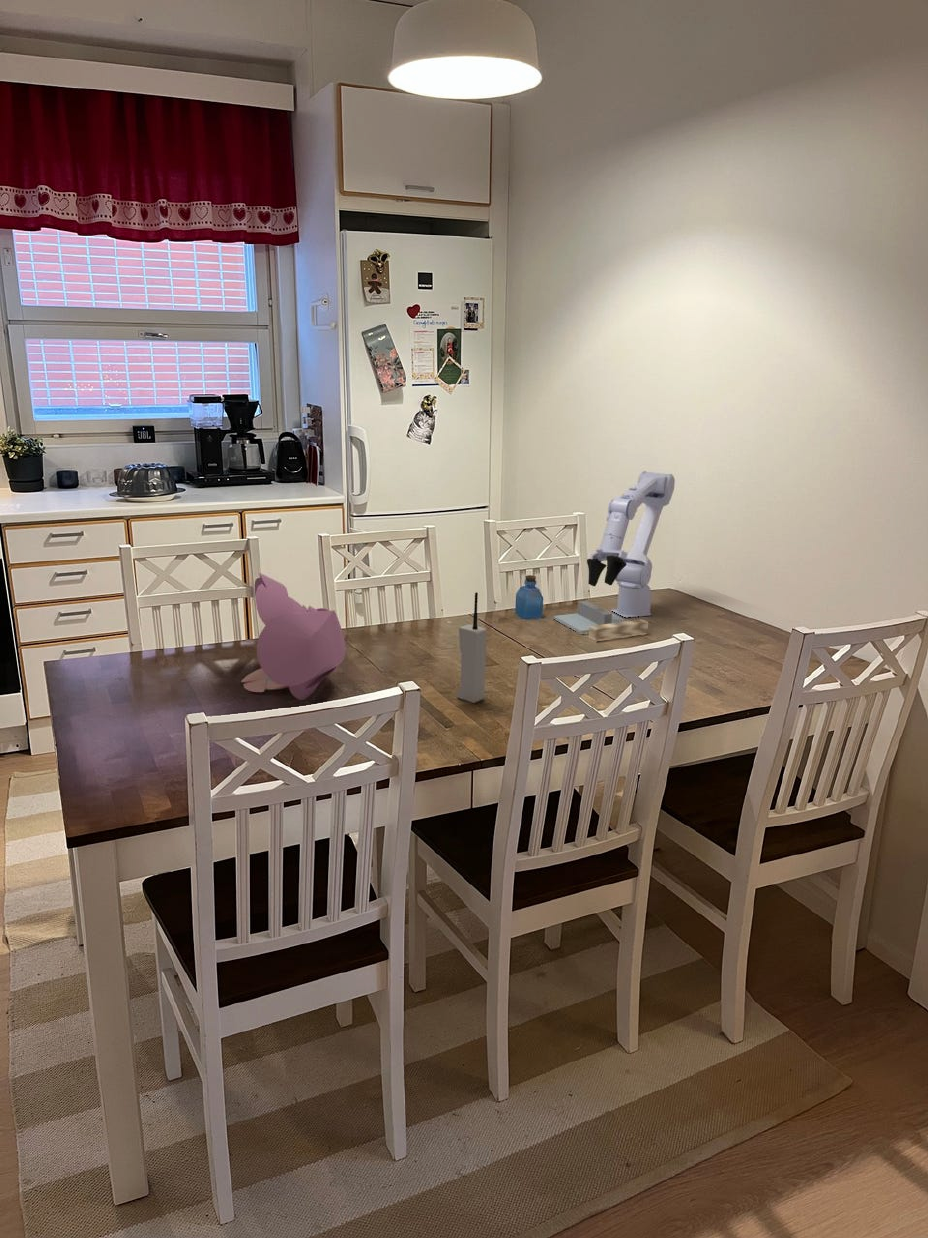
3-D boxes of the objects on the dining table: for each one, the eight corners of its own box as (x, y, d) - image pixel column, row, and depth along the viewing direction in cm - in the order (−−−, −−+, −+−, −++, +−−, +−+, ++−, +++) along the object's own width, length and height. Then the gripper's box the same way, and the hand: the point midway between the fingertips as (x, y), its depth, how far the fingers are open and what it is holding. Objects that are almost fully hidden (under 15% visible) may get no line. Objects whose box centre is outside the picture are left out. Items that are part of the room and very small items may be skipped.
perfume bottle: (515, 613, 273) (517, 574, 270) (534, 612, 275) (536, 573, 272) (522, 619, 268) (524, 579, 264) (542, 618, 269) (544, 578, 266)
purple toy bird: (227, 686, 223) (195, 576, 215) (316, 653, 234) (288, 547, 226) (277, 724, 194) (242, 598, 186) (376, 685, 205) (346, 564, 196)
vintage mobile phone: (467, 693, 210) (470, 588, 203) (484, 699, 207) (488, 592, 200) (456, 698, 208) (460, 591, 200) (473, 703, 205) (477, 595, 197)
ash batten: (640, 632, 260) (641, 619, 259) (647, 635, 258) (648, 622, 256) (588, 640, 252) (589, 626, 251) (594, 643, 249) (595, 629, 248)
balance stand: (605, 614, 276) (606, 598, 274) (634, 628, 263) (636, 611, 261) (553, 619, 268) (554, 603, 267) (580, 634, 255) (582, 617, 254)
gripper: (587, 535, 260) (573, 580, 258) (618, 531, 248) (604, 578, 245) (606, 545, 264) (593, 589, 261) (638, 540, 251) (624, 587, 248)
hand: (599, 584), depth 254 cm, fingers open, 7 cm apart
